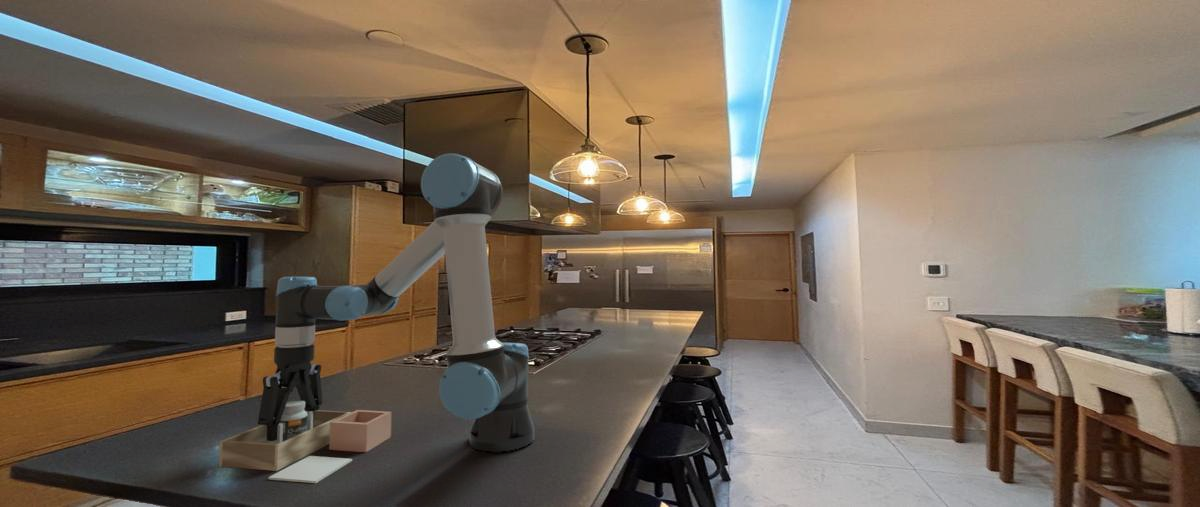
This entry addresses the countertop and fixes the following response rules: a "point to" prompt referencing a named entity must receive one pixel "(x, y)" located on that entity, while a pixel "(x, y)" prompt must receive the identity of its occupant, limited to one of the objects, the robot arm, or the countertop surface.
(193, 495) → the countertop surface
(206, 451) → the countertop surface
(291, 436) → the pill bottle
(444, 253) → the robot arm
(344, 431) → the pink open box
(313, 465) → the square cream tile
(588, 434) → the countertop surface
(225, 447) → the oak crate
